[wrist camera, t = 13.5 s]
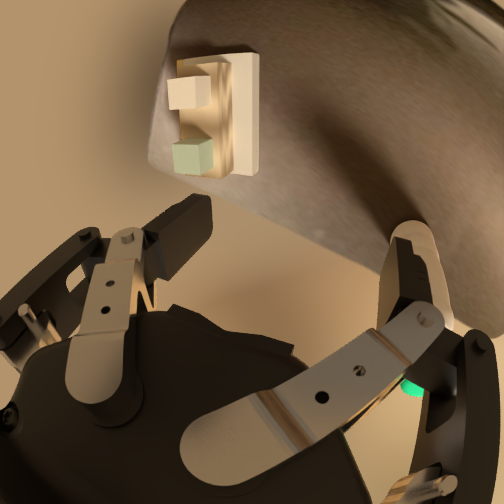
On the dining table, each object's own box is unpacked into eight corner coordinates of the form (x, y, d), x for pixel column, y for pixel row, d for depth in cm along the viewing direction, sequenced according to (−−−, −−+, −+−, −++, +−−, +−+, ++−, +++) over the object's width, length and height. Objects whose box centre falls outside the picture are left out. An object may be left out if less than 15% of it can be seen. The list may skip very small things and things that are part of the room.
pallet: (193, 67, 32) (177, 67, 29) (231, 63, 30) (217, 62, 27) (199, 166, 41) (184, 175, 38) (233, 170, 39) (221, 179, 36)
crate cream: (184, 78, 30) (167, 79, 27) (210, 75, 28) (194, 76, 26) (185, 106, 32) (169, 109, 29) (211, 105, 31) (196, 108, 28)
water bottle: (440, 240, 34) (471, 386, 16) (408, 266, 39) (410, 411, 20) (414, 209, 34) (441, 354, 15) (380, 237, 39) (371, 384, 20)
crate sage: (187, 138, 35) (171, 144, 32) (212, 138, 33) (198, 144, 31) (189, 164, 37) (175, 173, 34) (214, 166, 36) (200, 175, 33)
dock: (186, 60, 34) (176, 60, 32) (259, 54, 30) (252, 52, 28) (192, 163, 44) (183, 168, 42) (258, 170, 41) (251, 176, 39)
